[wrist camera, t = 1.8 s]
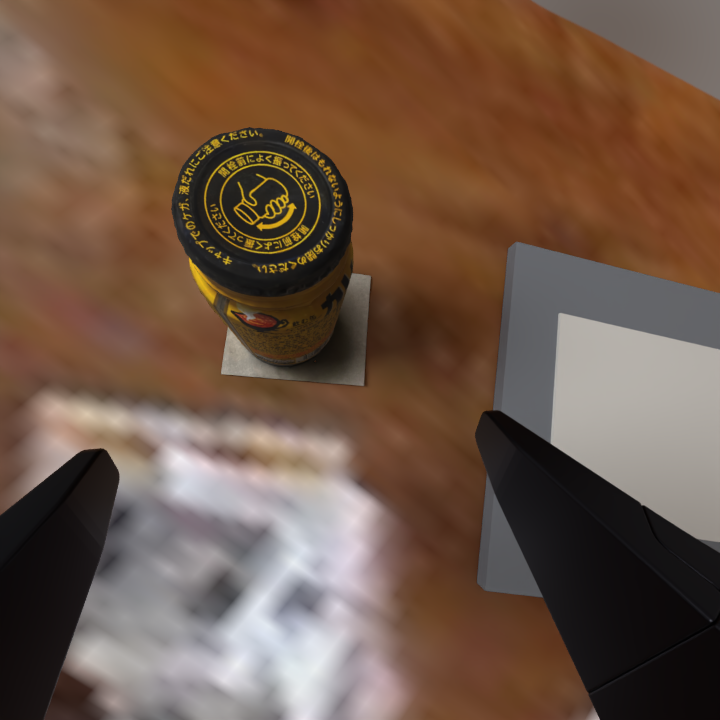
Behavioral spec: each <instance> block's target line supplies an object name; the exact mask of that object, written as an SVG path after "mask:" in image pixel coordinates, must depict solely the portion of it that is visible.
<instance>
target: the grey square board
mask: <svg viewBox="0 0 720 720" xmlns="http://www.w3.org/2000/svg"><path fill="white" fill-rule="evenodd" d="M493 410H500V411H502V412H503V413H505V414H506V415H508V416H509V417H511V418H512V419H514V420H515V421H517V422H519V423H520V424H522V425H523V426H525V427H526V428H528V429H529V430H531V431H532V432H534V433H535V434H537V435H538V436H540V437H541V438H543V439H544V440H546V441H547V442H549V443H550V444H552V445H553V446H555V447H557V448H558V449H560V450H561V451H563V452H564V453H566V454H567V455H569V456H570V457H572V458H573V459H575V460H576V461H578V462H579V463H581V464H582V465H584V466H585V467H587V468H588V469H590V470H591V471H593V472H595V473H596V474H598V475H599V476H601V477H602V478H604V479H605V480H607V481H608V482H610V483H611V484H613V485H614V486H616V487H617V488H619V489H620V490H622V491H623V492H625V493H626V494H628V495H629V496H631V497H633V498H634V499H636V500H637V501H639V502H640V503H641V505H645V506H646V507H648V508H649V509H651V510H652V511H654V512H656V513H657V514H659V515H660V516H662V517H663V518H665V519H666V520H668V521H669V522H671V523H673V524H674V525H676V526H677V527H679V528H680V529H682V530H684V531H685V532H687V533H688V534H690V535H691V536H693V537H695V538H696V539H698V540H700V541H701V542H703V543H705V544H706V545H708V546H710V547H711V548H713V549H715V550H716V551H718V552H720V293H716V292H712V291H708V290H704V289H700V288H696V287H692V286H688V285H685V284H681V283H677V282H673V281H669V280H665V279H661V278H657V277H653V276H649V275H645V274H641V273H637V272H633V271H630V270H626V269H622V268H618V267H614V266H610V265H606V264H602V263H598V262H594V261H590V260H586V259H582V258H579V257H575V256H571V255H567V254H563V253H559V252H555V251H551V250H547V249H543V248H539V247H535V246H531V245H527V244H524V243H520V242H516V243H514V244H513V245H512V246H511V247H510V248H508V255H507V266H506V277H505V287H504V298H503V309H502V319H501V330H500V341H499V351H498V362H497V373H496V383H495V394H494V404H493ZM477 583H478V584H479V585H480V586H481V587H482V588H483V589H484V590H485V591H491V592H500V593H509V594H517V595H526V596H534V597H543V596H542V594H541V592H540V590H539V588H538V586H537V584H536V581H535V579H534V577H533V575H532V573H531V571H530V569H529V566H528V564H527V562H526V560H525V558H524V556H523V554H522V552H521V549H520V547H519V545H518V543H517V541H516V539H515V537H514V535H513V532H512V530H511V528H510V526H509V524H508V522H507V520H506V517H505V515H504V513H503V511H502V509H501V507H500V505H499V502H498V500H497V498H496V496H495V493H494V491H493V488H492V485H491V483H490V480H489V477H488V474H487V479H486V490H485V500H484V511H483V521H482V532H481V543H480V553H479V564H478V575H477Z"/></svg>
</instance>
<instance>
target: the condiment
mask: <svg viewBox="0 0 720 720" xmlns="http://www.w3.org/2000/svg"><path fill="white" fill-rule="evenodd" d="M171 210H172V215H173V219H174V225H175V227H176V230H177V235H178V239H179V240H180V242H181V244H182V246H183V247H184V250H185V253H186V254H187V255H188V256H189V264H190V270H191V272H192V275H193V277H194V280H195V282H196V283H197V285H198V287H199V290H200V292H201V294H202V295H203V296H204V297H205V298H206V300H207V302H208V304H209V305H210V306H211V308H212V309H213V310H214V312H215V313H217V314H218V315H219V317H220V318H221V319H222V321H223V323H224V324H225V325H226V326H228V331H227V338H226V343H225V349H224V356H223V363H222V371H221V374H227V375H238V376H250V377H262V378H273V379H285V380H296V381H312V382H322V383H332V384H348V385H359V386H364V376H365V374H364V373H365V356H366V338H367V324H368V322H367V320H368V309H369V293H370V281H371V276H368V275H361V274H353V273H352V272H353V247H352V242H351V232H352V221H353V207H352V202H351V197H350V194H349V190H348V186H347V183H346V181H345V180H344V178H343V177H342V176H341V174H340V172H339V170H338V169H337V167H336V166H335V164H334V163H333V161H332V160H331V159H330V158H329V157H328V156H326V155H325V154H323V153H322V152H320V151H319V150H318V149H317V148H315V147H314V146H312V145H311V144H309V143H308V142H306V141H305V140H303V139H302V138H301V137H299V136H295V135H292V134H289V133H285V132H282V131H279V130H274V129H262V128H255V129H254V128H250V127H249V128H244V129H241V130H238V131H234V132H229V133H223V134H219V135H217V136H214V137H212V138H211V139H210V140H208V141H207V142H206V143H204V144H203V145H202V146H200V147H199V148H198V149H197V150H196V151H195V152H194V153H193V154H192V155H191V156H190V157H189V159H188V160H187V161H186V162H185V164H184V165H183V167H182V169H181V171H180V174H179V177H178V181H177V184H176V186H175V191H174V194H173V198H172V208H171ZM315 361H316V362H315Z"/></svg>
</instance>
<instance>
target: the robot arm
mask: <svg viewBox="0 0 720 720" xmlns="http://www.w3.org/2000/svg"><path fill="white" fill-rule="evenodd" d="M475 438H476V442H477V445H478V448H479V451H480V454H481V457H482V460H483V462H484V465H485V468H486V471H487V474H488V477H489V480H490V483H491V485H492V488H493V491H494V493H495V496H496V498H497V500H498V502H499V505H500V507H501V509H502V511H503V513H504V515H505V517H506V520H507V522H508V524H509V526H510V528H511V530H512V532H513V535H514V537H515V539H516V541H517V543H518V545H519V547H520V549H521V552H522V554H523V556H524V558H525V560H526V562H527V564H528V566H529V569H530V571H531V573H532V575H533V577H534V579H535V581H536V584H537V586H538V588H539V590H540V592H541V594H542V596H543V598H544V601H545V603H546V605H547V607H548V609H549V611H550V613H551V616H552V618H553V620H554V622H555V624H556V626H557V628H558V630H559V633H560V635H561V637H562V639H563V641H564V643H565V645H566V648H567V650H568V652H569V654H570V656H571V658H572V660H573V662H574V665H575V667H576V669H577V671H578V673H579V675H580V677H581V680H582V682H583V684H584V686H585V688H586V690H587V692H588V693H589V697H590V699H591V701H592V704H593V706H594V708H595V710H596V712H597V714H598V716H599V719H600V720H720V552H718V551H716V550H715V549H713V548H711V547H710V546H708V545H706V544H705V543H703V542H701V541H700V540H698V539H696V538H695V537H693V536H691V535H690V534H688V533H687V532H685V531H684V530H682V529H680V528H679V527H677V526H676V525H674V524H673V523H671V522H669V521H668V520H666V519H665V518H663V517H662V516H660V515H659V514H657V513H656V512H654V511H652V510H651V509H649V508H648V507H646V506H645V505H641V503H640V502H639V501H637V500H636V499H634V498H633V497H631V496H629V495H628V494H626V493H625V492H623V491H622V490H620V489H619V488H617V487H616V486H614V485H613V484H611V483H610V482H608V481H607V480H605V479H604V478H602V477H601V476H599V475H598V474H596V473H595V472H593V471H591V470H590V469H588V468H587V467H585V466H584V465H582V464H581V463H579V462H578V461H576V460H575V459H573V458H572V457H570V456H569V455H567V454H566V453H564V452H563V451H561V450H560V449H558V448H557V447H555V446H553V445H552V444H550V443H549V442H547V441H546V440H544V439H543V438H541V437H540V436H538V435H537V434H535V433H534V432H532V431H531V430H529V429H528V428H526V427H525V426H523V425H522V424H520V423H519V422H517V421H515V420H514V419H512V418H511V417H509V416H508V415H506V414H505V413H503V412H502V411H500V410H491V411H485V412H483V413H482V415H481V418H480V421H479V424H478V426H477V429H476V433H475ZM118 484H119V471H118V469H117V467H116V466H115V464H114V462H113V460H112V459H111V457H110V455H109V454H108V452H107V451H106V450H105V449H101V448H100V449H89V450H83V451H81V452H79V453H78V454H76V455H75V456H74V457H73V458H71V459H70V460H69V461H68V462H66V463H65V464H64V465H63V466H61V467H60V468H59V469H58V470H56V471H55V472H54V473H53V474H51V475H50V476H49V477H48V478H46V479H45V480H44V481H43V482H41V483H40V484H39V485H38V486H36V487H35V488H34V489H33V490H31V491H30V492H29V493H28V494H26V495H25V496H24V497H23V498H21V499H20V500H19V501H18V502H16V503H15V504H14V505H13V506H11V507H10V508H9V509H8V510H6V511H5V512H4V513H3V514H1V515H0V720H44V718H45V715H46V712H47V709H48V706H49V703H50V701H51V698H52V695H53V692H54V689H55V686H56V683H57V681H58V678H59V675H60V672H61V669H62V666H63V663H64V661H65V658H66V655H67V652H68V649H69V646H70V643H71V641H72V638H73V635H74V632H75V629H76V626H77V623H78V621H79V618H80V615H81V612H82V609H83V606H84V603H85V601H86V598H87V595H88V592H89V589H90V586H91V584H92V581H93V578H94V575H95V572H96V569H97V566H98V564H99V561H100V558H101V554H102V551H103V548H104V544H105V540H106V536H107V532H108V528H109V523H110V519H111V515H112V510H113V506H114V502H115V497H116V493H117V489H118Z"/></svg>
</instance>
